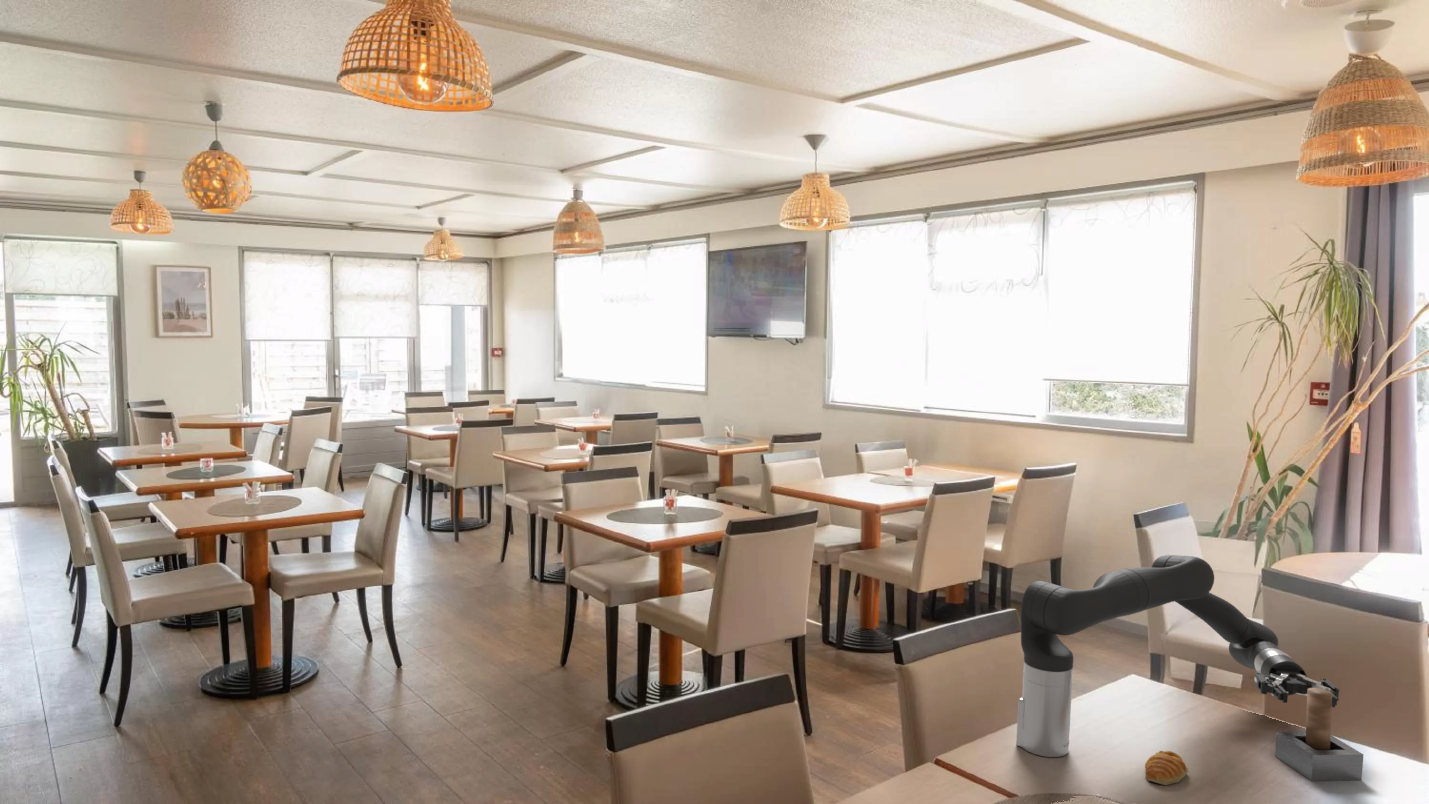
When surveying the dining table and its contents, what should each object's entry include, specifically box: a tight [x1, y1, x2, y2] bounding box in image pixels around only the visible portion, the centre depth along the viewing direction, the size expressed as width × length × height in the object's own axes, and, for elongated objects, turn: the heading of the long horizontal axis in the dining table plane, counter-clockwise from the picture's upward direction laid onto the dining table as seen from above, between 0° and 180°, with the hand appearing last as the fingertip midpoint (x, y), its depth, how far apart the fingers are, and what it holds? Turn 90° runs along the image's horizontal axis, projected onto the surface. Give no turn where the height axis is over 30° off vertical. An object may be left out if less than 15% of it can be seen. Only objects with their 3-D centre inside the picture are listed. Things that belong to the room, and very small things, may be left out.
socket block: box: [1274, 731, 1364, 782], centre depth 178 cm, size 10×10×5 cm
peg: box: [1305, 688, 1333, 750], centre depth 178 cm, size 4×4×14 cm
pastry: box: [1144, 750, 1189, 786], centre depth 173 cm, size 9×7×4 cm
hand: (1309, 700), depth 183 cm, fingers open, 8 cm apart
